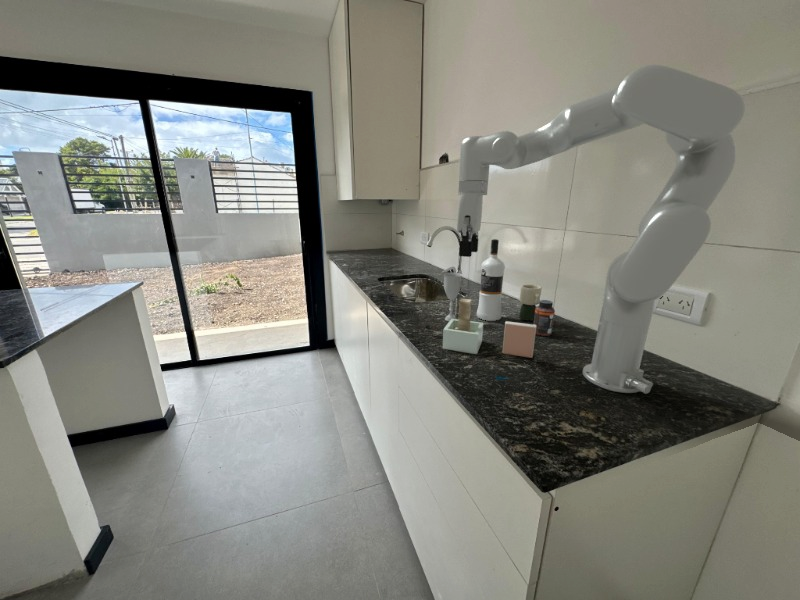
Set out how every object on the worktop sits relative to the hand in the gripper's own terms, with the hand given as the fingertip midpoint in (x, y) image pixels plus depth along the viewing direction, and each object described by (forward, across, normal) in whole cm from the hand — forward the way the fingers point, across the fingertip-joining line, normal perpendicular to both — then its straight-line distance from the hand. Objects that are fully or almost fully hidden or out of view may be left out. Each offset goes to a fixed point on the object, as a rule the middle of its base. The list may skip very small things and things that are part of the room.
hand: (468, 253), depth 88 cm
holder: (+28, 0, 0) cm, 29 cm away
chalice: (+29, -21, -9) cm, 37 cm away
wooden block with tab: (+28, 0, 0) cm, 28 cm away
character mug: (+29, -34, +18) cm, 48 cm away
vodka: (+29, -31, +4) cm, 42 cm away
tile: (+28, +1, +16) cm, 32 cm away
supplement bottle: (+29, -21, +23) cm, 42 cm away
